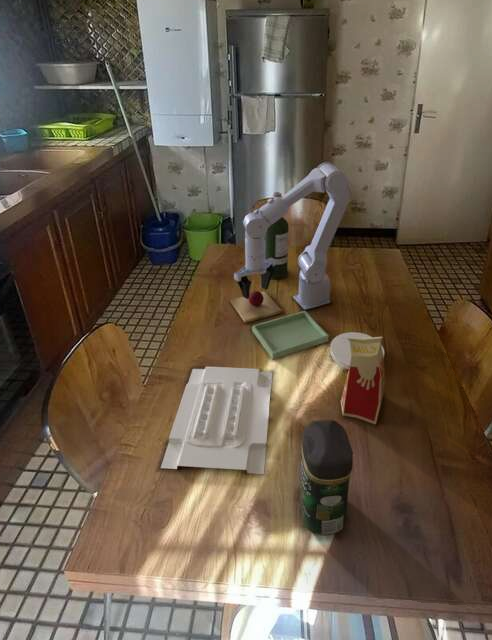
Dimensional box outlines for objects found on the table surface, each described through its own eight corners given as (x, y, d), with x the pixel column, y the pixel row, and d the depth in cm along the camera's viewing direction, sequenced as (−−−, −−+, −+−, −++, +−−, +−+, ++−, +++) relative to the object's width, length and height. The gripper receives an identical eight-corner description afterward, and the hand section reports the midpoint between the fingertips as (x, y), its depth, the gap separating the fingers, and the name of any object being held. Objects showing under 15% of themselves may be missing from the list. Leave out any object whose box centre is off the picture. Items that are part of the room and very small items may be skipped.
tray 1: (160, 468, 85) (158, 455, 83) (192, 371, 111) (191, 360, 109) (264, 474, 84) (264, 460, 83) (272, 375, 110) (272, 363, 108)
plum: (261, 300, 137) (262, 287, 135) (264, 308, 133) (265, 296, 131) (246, 300, 136) (247, 288, 134) (249, 309, 132) (250, 297, 130)
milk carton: (382, 395, 103) (393, 326, 94) (377, 425, 95) (389, 353, 86) (344, 385, 106) (351, 318, 97) (336, 414, 98) (343, 343, 89)
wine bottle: (282, 281, 149) (284, 199, 136) (261, 276, 152) (261, 195, 139) (290, 270, 156) (292, 191, 143) (269, 266, 158) (270, 188, 145)
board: (264, 293, 142) (264, 290, 142) (281, 312, 132) (281, 310, 132) (230, 302, 137) (230, 299, 137) (245, 323, 128) (245, 320, 127)
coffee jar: (295, 486, 82) (298, 415, 74) (336, 482, 83) (344, 411, 75) (304, 540, 73) (309, 466, 65) (349, 535, 74) (360, 461, 66)
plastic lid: (384, 344, 120) (385, 337, 119) (381, 379, 108) (383, 372, 106) (333, 335, 123) (334, 328, 122) (325, 368, 111) (326, 361, 110)
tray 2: (304, 316, 131) (305, 310, 130) (328, 341, 121) (328, 335, 120) (252, 331, 124) (252, 325, 123) (272, 359, 114) (272, 353, 113)
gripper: (244, 266, 119) (245, 307, 125) (282, 250, 129) (281, 289, 134) (228, 257, 124) (230, 297, 130) (266, 242, 133) (266, 280, 139)
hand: (255, 292), depth 133 cm, fingers open, 7 cm apart
